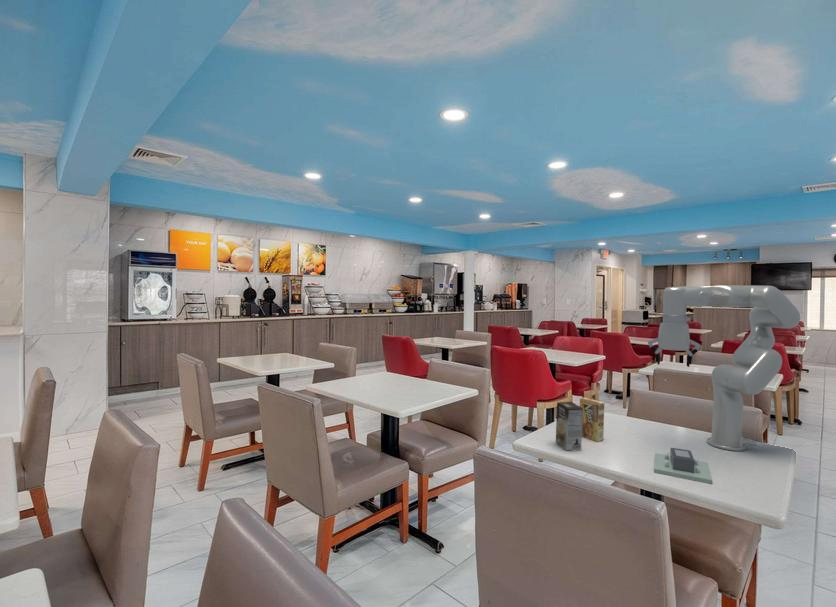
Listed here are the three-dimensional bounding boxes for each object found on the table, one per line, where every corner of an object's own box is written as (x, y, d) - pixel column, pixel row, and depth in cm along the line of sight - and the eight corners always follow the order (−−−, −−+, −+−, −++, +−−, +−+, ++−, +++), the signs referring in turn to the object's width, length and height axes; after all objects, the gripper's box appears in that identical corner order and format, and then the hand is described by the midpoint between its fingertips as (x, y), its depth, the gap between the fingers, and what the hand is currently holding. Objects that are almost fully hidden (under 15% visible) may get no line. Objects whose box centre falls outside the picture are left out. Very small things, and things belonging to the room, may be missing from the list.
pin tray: (707, 466, 151) (708, 456, 150) (712, 484, 137) (712, 474, 137) (654, 456, 158) (655, 447, 158) (654, 472, 145) (654, 462, 144)
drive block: (689, 461, 151) (690, 450, 151) (694, 473, 142) (694, 460, 142) (670, 458, 153) (670, 447, 153) (672, 469, 144) (673, 456, 144)
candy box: (603, 440, 174) (605, 402, 174) (597, 442, 172) (598, 403, 171) (584, 433, 182) (585, 397, 181) (578, 435, 179) (579, 398, 179)
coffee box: (554, 442, 171) (556, 401, 170) (570, 441, 172) (571, 401, 171) (566, 451, 162) (567, 408, 161) (582, 450, 163) (583, 408, 162)
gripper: (700, 320, 163) (699, 365, 164) (648, 318, 171) (647, 361, 172) (702, 321, 157) (701, 369, 158) (648, 319, 165) (647, 364, 166)
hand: (673, 365), depth 165 cm, fingers open, 9 cm apart
